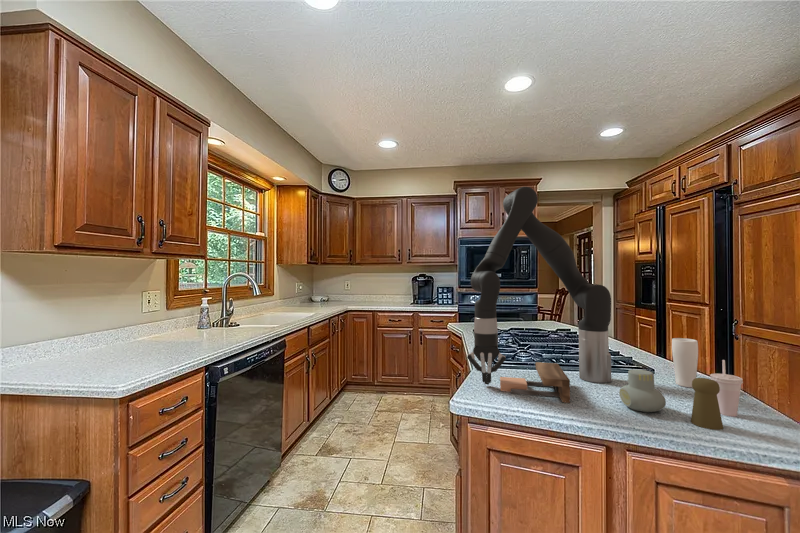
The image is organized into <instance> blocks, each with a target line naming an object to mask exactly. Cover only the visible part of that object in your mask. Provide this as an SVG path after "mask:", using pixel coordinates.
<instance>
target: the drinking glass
mask: <svg viewBox="0 0 800 533" xmlns="http://www.w3.org/2000/svg"><path fill="white" fill-rule="evenodd" d="M698 342H699V341H698V340H696V339H692V338H687V337H686V338H682V337H674V338H671V355H672V362H673V369H674V377H675V379H674V380H675V384H676V385H677V386H680V387H683V388H692V389H693V387H692V381H693V380H694V379H695V378H697V373H698V364H699V363H698V361H699V360H698V359H699V343H698Z"/></svg>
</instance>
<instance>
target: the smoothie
mask: <svg viewBox="0 0 800 533" xmlns="http://www.w3.org/2000/svg"><path fill="white" fill-rule="evenodd" d="M721 362H722V363H721V364H722V367H721V368H722V373H711V374H710V377H709V379H711V380H714V381H716V382H717V383H718V384H719V387H720V391H719V393H718V394H717V398H718V403H719V408H720V414H721V416H726V417H731V418H732V417H737V416H738V412H739V402H740V396H741V390H742V384H743V383H744V381H743V378H742V377H739V376H737V375H733V374H727V373H726V360H725V359H722V360H721Z"/></svg>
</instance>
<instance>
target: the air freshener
mask: <svg viewBox="0 0 800 533" xmlns="http://www.w3.org/2000/svg"><path fill="white" fill-rule="evenodd" d="M627 374H628V375H627V376H628V377H627V378H628V379H627V380H628V382H627V383H628V384H625V385H624V386H622V387H620V388H619V390H618V392H619V398H620V400H621V402H622V404H624V405H625V406H627V407H628V408H629V409H630V410H634V411H637V412H644V413H654V412H655V413H656V412H659V411H661V410H663V409H664V408H665V407H666V405H667V403H666V402H667V401H666V398H665V396H664V395H663V393H662V392H661V391H660V390H659V389H657V388H656V387H655V374H654V372H652V371H649V370H645V369H639V368H638V369H636V368H635V369H629V370H628V371H627Z"/></svg>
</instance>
